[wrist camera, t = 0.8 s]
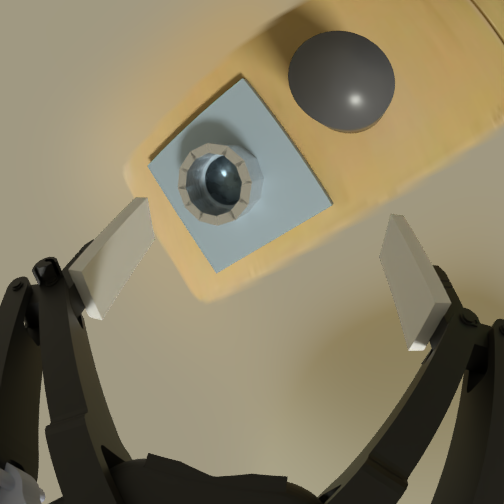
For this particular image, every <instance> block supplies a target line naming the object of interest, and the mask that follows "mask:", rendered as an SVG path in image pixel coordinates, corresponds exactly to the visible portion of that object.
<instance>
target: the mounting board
mask: <svg viewBox="0 0 504 504" xmlns="http://www.w3.org/2000/svg"><path fill="white" fill-rule="evenodd" d="M207 143H229V144H235V145H242V146H243V147H244V148H245V149H247V150H248V151H249V152H250V153H251V154H252V155H254V156H255V157H256V158H257V160H258V162H259V165H260V168H261V171H262V174H263V176H264V182H263V188H262V194H261V198H260V200H259V201H258V202H257V203H256V204H255V206H254V207H253V208H252V209H251V210H250V212H249V213H247V214H245V215H244V216H242V217H240V218H238V219H237V220H235V221H231V222H228V223H225V224H222V225H219V226H216V225H212V224H209V223H205V222H201V221H199V220H198V219H196V218H195V217H194V216H193V215H192V214H191V213H190V212H189V211H188V210H187V209H186V208H185V206H184V204H183V201H182V198H181V196H180V193H179V190H178V180H179V169H180V166H181V165H182V163H183V162H184V160H185V159H186V157H187V156H188V154H189V152H190V151H192V150H194V149H196V148H198V147H200V146H202V145H204V144H207ZM221 156H224V155H216V156H214V157H212V158H211V159H210V161H209V162H208V164H207V165H206V166H205V168H204V173H203V182H202V183H203V186H204V188H205V191H206V194H207V196H208V197H209V198H210V199H211V200H212V201H213V202H214V203H215V204H216V205H217V206H221V207H225V208H229V209H232V208H233V207H234V206H235V205H223V204H221V203H218V202H217V201H215V200H214V199H213V198H212V197H211V195H210V194H209V192H208V190H207V188H206V184H205V175H206V171H207V168H208V167H209V165H210V164H211V162H212V161H214V160H215V159H216V158H218V157H221ZM148 168H149V169H150V171H151V173H152V174H153V176H154V178H155V179H156V181H157V182H158V184H159V186H160V187H161V189H162V190H163V192H164V194H165V195H166V197H167V198H168V200H169V202H170V203H171V205H172V206H173V208H174V209H175V211H176V213H177V214H178V216H179V217H180V219H181V220H182V222H183V223H184V225H185V226H186V228H187V230H188V231H189V233H190V234H191V236H192V237H193V239H194V240H195V242H196V243H197V245H198V246H199V248H200V249H201V251H202V252H203V254H204V255H205V257H206V258H207V260H208V261H209V263H210V264H211V266H212V267H213V269H214V270H215V272H216V273H218V272H220V271H221V270H223V269H225V268H226V267H228V266H230V265H231V264H233V263H235V262H237V261H238V260H240V259H242V258H243V257H245V256H247V255H248V254H250V253H252V252H254V251H255V250H257V249H259V248H260V247H262V246H264V245H265V244H267V243H269V242H271V241H272V240H274V239H276V238H277V237H279V236H281V235H282V234H284V233H286V232H288V231H289V230H291V229H293V228H294V227H296V226H298V225H299V224H301V223H303V222H305V221H306V220H308V219H310V218H311V217H313V216H315V215H316V214H318V213H320V212H322V211H323V210H325V209H327V208H328V207H330V206H332V205H333V202H332V200H331V199H330V197H329V195H328V194H327V192H326V191H325V189H324V187H323V186H322V184H321V183H320V181H319V180H318V178H317V176H316V175H315V173H314V172H313V170H312V169H311V167H310V166H309V164H308V163H307V161H306V160H305V158H304V157H303V155H302V154H301V152H300V151H299V150H298V148H297V147H296V145H295V144H294V142H293V141H292V139H291V138H290V137H289V135H288V134H287V132H286V131H285V130H284V128H283V127H282V125H281V124H280V123H279V121H278V120H277V119H276V117H275V116H274V115H273V113H272V112H271V111H270V109H269V108H268V107H267V105H266V104H265V103H264V101H263V100H262V99H261V97H260V96H259V95H258V93H257V92H256V91H255V90H254V88H253V87H252V86H251V85H250V83H249V82H248V81H247V80H246V79H244V78H242V79H241V80H240V81H238V82H237V83H236V84H235V85H233V86H232V87H231V88H230V89H229V90H227V91H226V92H225V93H224V94H223V95H221V96H220V97H219V98H218V99H217V100H216V101H214V102H213V103H212V104H211V105H210V106H209V107H208V108H206V109H205V110H204V111H203V112H202V113H201V114H200V115H199V116H198V117H196V118H195V119H194V120H193V121H192V122H191V123H190V124H189V125H188V126H187V127H186V128H185V129H184V130H182V131H181V132H180V133H179V134H178V135H177V136H176V137H175V138H174V139H173V140H172V141H171V142H170V143H169V144H168V145H167V146H166V147H165V148H164V149H163V150H162V151H161V152H160V153H159V154H158V155H157V156H156V157H155V158H154V159H153V160H152V162H151V163H150V164H149V165H148Z"/></svg>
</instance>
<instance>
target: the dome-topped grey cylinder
mask: <svg viewBox="0 0 504 504" xmlns="http://www.w3.org/2000/svg"><path fill="white" fill-rule="evenodd" d="M288 80H289V86H290V90H291V93H292V95H293V97H294V99H295V101H296V102H297V104H298V105H299V106H300V107H301V109H302V110H303V111H304V112H305V113H306V114H308V115H309V116H310V117H312V118H313V119H315V120H316V121H318V122H320V123H321V124H323V125H325V126H326V127H328V128H330V129H332V130H334V131H338V132H342V133H358V132H362V131H365V130H367V129H369V128H371V127H372V126H374V125H375V124H376V123H377V122H378V121H379V120H380V119H381V118H382V116H383V114H384V113H385V111H386V109H387V108H388V106H389V104H390V102H391V100H392V98H393V94H394V90H395V78H394V73H393V69H392V66H391V64H390V62H389V60H388V58H387V57H386V55H385V54H384V53H383V51H382V50H381V49H380V48H379V47H378V46H377V45H375V44H374V43H373V42H371V41H370V40H368V39H367V38H365V37H363V36H360V35H358V34H355V33H351V32H346V31H330V32H324V33H321V34H318V35H315V36H313V37H312V38H310V39H308V40H307V41H305V42H304V43H303V44H302V45H301V46H300V47H299V48H298V49H297V51H296V52H295V54H294V55H293V57H292V60H291V62H290V66H289V72H288Z"/></svg>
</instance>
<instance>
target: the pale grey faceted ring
mask: <svg viewBox="0 0 504 504" xmlns="http://www.w3.org/2000/svg"><path fill="white" fill-rule="evenodd" d="M216 155H224V156H221V157H218V158H216V159H215V160H214V161H212V162H211V164H210V165H209V167H208V168H207V171H206V175H205V184H206V188H207V190H208V192H209V194H210V195H211V197H212V198H213V199H214V200H215V201H217V202H218V203H221V204H223V205H235V206H234V207H233V208H232V209H229V208H225V207H221V206H217V205H216V204H215V203H214V202H213V201H212V200H211V199H210V198H209V197H208V196H207V194H206V191H205V188H204V186H203V183H202V182H203V173H204V168H205V166H206V165H207V164H208V162H209V161H210V159H211V158H212V157H214V156H216ZM263 182H264V176H263V174H262V171H261V168H260V165H259V162H258V160H257V158H256V157H255V156H254V155H252V154H251V153H250V152H249V151H248V150H247V149H245V148H244V147H243V146H242V145H235V144H229V143H207V144H204V145H202V146H200V147H198V148H196V149H194V150H192V151H190V152H189V154H188V156H187V157H186V159H185V160H184V162H183V163H182V165H181V166H180V169H179V180H178V190H179V193H180V196H181V198H182V201H183V204H184V206H185V208H186V209H187V210H188V211H189V212H190V213H191V214H192V215H193V216H194V217H195V218H196V219H198V220H199V221H201V222H205V223H209V224H212V225H216V226H219V225H222V224H225V223H228V222H231V221H235V220H237V219H238V218H240V217H242V216H244V215H245V214H247V213H249V212H250V210H251V209H252V208H253V207H254V206H255V204H256V203H257V202H258V201H259V200H260V198H261V194H262V188H263Z"/></svg>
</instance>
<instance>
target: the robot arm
mask: <svg viewBox="0 0 504 504" xmlns="http://www.w3.org/2000/svg"><path fill="white" fill-rule="evenodd" d="M154 240H155V237H154V232H153V227H152V221H151V215H150V210H149V204H148V198H139V197H136V198H135V199H134V200H133V201H132V202H131V203H130V204H129V205H128V206H127V207H126V208H124V209H123V210H122V211H121V212H120V213H119V214H118V215H117V217H116V218H115V219H114V220H113V221H112V222H111V223H110V224H109V225H108V226H107V227H106V228H105V229H104V230H103V231H102V232H101V233H100V234H99V235H98V236H97V237H96V238H95V240H92V241H90V242H89V243H87V244H85V245H84V247H82V248H81V250H80V251H79V253H77V254H76V255H75V257H74V258H73V259H72V260H71V261H70V262H69V263H68V264H67V265H66V267H65V268H64V269H63V270H62V271H61V268H60V266H59V264H58V261H57V259H56V258H54V257H48V258H44V259H43V260H40V261H39V262H38V263H36V265H35V266H34V267H33V269H32V272H33V274H34V276H35V278H36V280H37V283H38V284H37V285H31V284H30V282H29V280H28V278H27V277H19V278H16V279H15V280H13V281H12V282H11V283H10V284H9V286H8V288H7V290H6V293H5V295H4V298H3V300H2V303H1V306H0V504H41V502H43V501H44V500H45V494H44V492H43V490H42V489H41V488H39V486H38V484H37V478H38V462H39V461H38V460H39V451H38V425H39V403H40V390H41V380H42V371H43V377H44V385H45V392H46V397H47V404H48V409H49V414H50V419H51V423H50V425H48V426H46V428H45V434H46V440H47V444H48V448H49V452H50V456H51V459H52V463H53V466H54V470H55V473H56V477H57V480H58V483H59V486H60V489H61V492H62V494H63V497H61V498H59V499H57V500H55V501H53V502H51V503H49V504H396V503H397V502H398V500H399V499H400V498H401V496H402V495H403V494H404V492H405V490H406V489H407V486H408V482H407V479H408V477H409V476H410V474H411V472H412V471H413V469H414V468H415V466H416V465H417V463H418V462H419V460H420V459H421V457H422V455H423V454H424V452H425V450H426V448H427V447H428V445H429V444H430V442H431V440H432V438H433V436H434V434H435V433H436V431H437V429H438V427H439V426H440V424H441V422H442V420H443V418H444V416H445V414H446V412H447V410H448V408H449V406H450V403H451V401H452V399H453V397H454V395H455V393H456V390H457V388H458V385H459V383H460V381H461V379H462V376H463V374H464V376H463V384H462V391H461V397H460V403H459V408H458V414H457V419H456V423H455V428H454V432H453V437H452V440H451V444H450V448H449V452H448V455H447V459H446V462H445V466H444V469H443V472H442V475H441V478H440V481H439V484H438V487H437V489H436V492H435V495H434V497H433V500H432V503H431V504H504V320H503V319H497V320H496V321H495V322H494V324H493V325H492V327H491V326H488V325H484V324H481V323H480V322H479V319H478V317H477V316H476V314H475V313H473V312H472V311H471V310H469V309H466V308H463V306H462V304H461V302H460V300H459V298H458V296H457V294H456V292H455V290H454V288H453V286H452V285H451V282H449V279H448V277H447V275H446V273H445V272H444V271H443V270H442V269H441V268H440V267H439V266H434V265H432V264H431V262H430V260H429V258H428V256H427V255H426V253H425V251H424V250H423V247H422V246H421V244H420V242H419V241H418V239H417V237H416V236H415V234H414V232H413V231H412V229H411V227H410V226H409V224H408V222H407V221H406V219H405V218H404V216H402V215H395V214H391V215H390V218H389V222H388V226H387V230H386V234H385V238H384V242H383V245H382V249H381V252H380V256H379V258H380V261H381V264H382V266H383V269H384V272H385V275H386V278H387V281H388V284H389V287H390V290H391V293H392V296H393V299H394V302H395V305H396V308H397V312H398V315H399V318H400V322H401V326H402V329H403V333H404V336H405V340H406V343H407V348H408V351H415V350H424V348H425V347H426V345H427V344H428V342H429V341H430V344H431V347H432V349H431V351H430V352H429V353H428V355H427V356H426V358H425V359H424V361H423V362H422V366H421V368H420V369H419V371H418V373H417V374H416V376H415V378H414V379H413V381H412V382H411V384H410V386H409V387H408V389H407V390H406V392H405V394H404V395H403V397H402V398H401V400H400V401H399V403H398V404H397V405H396V407H395V409H394V410H393V411H392V413H391V414H390V415H389V417H388V418H387V420H386V421H385V423H384V424H383V425H382V427H381V428H380V429H379V430H378V432H377V433H376V434H375V436H374V437H373V438H372V440H371V441H370V442H369V443H368V444H367V446H366V447H365V448H364V449H363V451H362V452H361V453H360V454H359V456H357V458H356V459H355V460H354V461H353V462H352V463H351V465H350V466H349V467H348V468H347V469H346V470H345V471H344V472H343V473H342V474H341V475H340V476H339V477H338V478H337V479H336V480H335V481H334V482H333V483H332V484H331V485H330V486H329V487H328V488H326V489H325V490H324V491H323V492H322V494H320V495H319V496H318V497H316V496H315V495H314V494H312V493H311V492H309V491H308V490H306V489H304V488H302V487H300V486H298V485H296V484H293V483H289V482H287V477H286V476H284V477H283V476H269V475H258V474H246V475H236V476H221V477H213V476H210V475H208V474H206V473H203V472H201V471H199V470H197V469H195V468H192V467H190V466H188V465H186V464H184V463H182V462H180V461H176V460H172V459H168V458H164V457H161V456H157V455H153V454H150V453H148V456H147V459H136V460H132V459H131V457H130V455H129V453H128V452H127V450H126V449H125V448H124V446H123V444H122V443H121V440H120V438H119V436H118V433H117V431H116V428H115V425H114V423H113V420H112V417H111V415H110V412H109V409H108V406H107V403H106V400H105V397H104V395H103V391H102V388H101V385H100V381H99V378H98V375H97V371H96V368H95V364H94V360H93V356H92V352H91V349H90V344H89V340H88V336H87V331H86V327H85V322H84V318H83V316H82V314H81V313H82V311H83V310H84V309H86V311H87V313H88V315H89V317H92V318H96V319H100V320H103V318H104V316H105V315H106V313H107V312H108V310H109V308H110V307H111V305H112V304H113V302H114V300H115V299H116V297H117V296H118V294H119V292H120V291H121V289H122V288H123V286H124V285H125V283H126V281H127V280H128V279H129V277H130V275H131V274H132V272H133V271H134V269H135V268H136V266H137V265H138V263H139V262H140V260H141V259H142V258H143V256H144V255H145V253H146V252H147V250H148V248H149V247H150V246H151V244H152V243H153V241H154ZM24 322H25V326H24Z"/></svg>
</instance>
